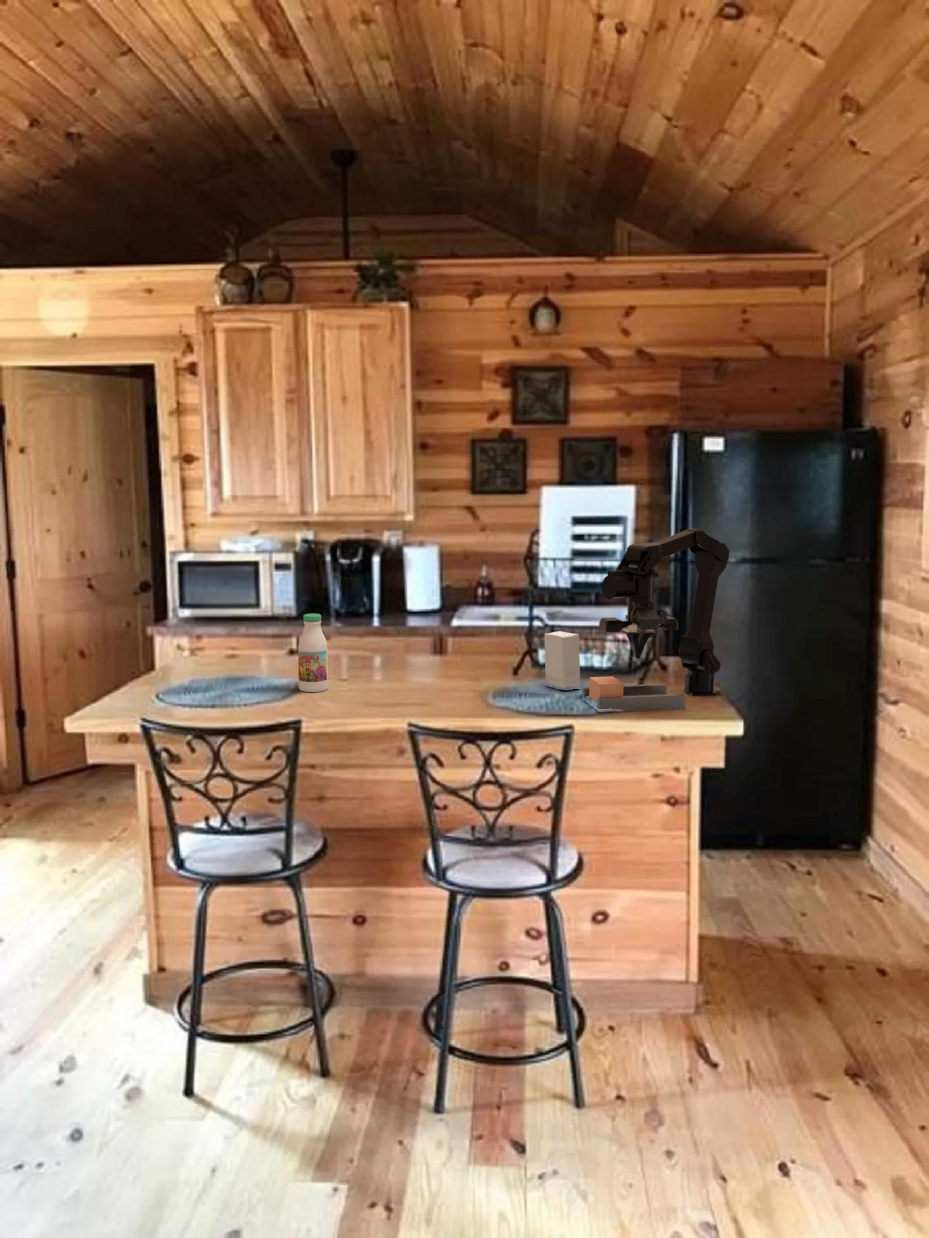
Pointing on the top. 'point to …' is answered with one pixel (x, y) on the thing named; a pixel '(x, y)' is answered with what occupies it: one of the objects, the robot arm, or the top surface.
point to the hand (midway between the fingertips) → (637, 658)
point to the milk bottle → (313, 656)
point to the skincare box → (562, 659)
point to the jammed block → (605, 687)
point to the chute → (641, 698)
